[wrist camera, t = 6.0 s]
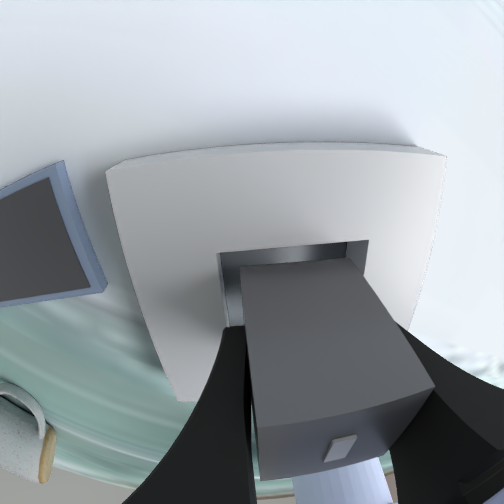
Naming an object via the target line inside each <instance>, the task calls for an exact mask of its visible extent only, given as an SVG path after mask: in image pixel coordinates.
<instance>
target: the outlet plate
mask: <svg viewBox="0 0 504 504" xmlns="http://www.w3.org/2000/svg"><path fill="white" fill-rule="evenodd" d="M446 158H447V156H444V155H441V154H439V153H436V152H433V151H430V150H427V149H424V148H421V147H416V146H405V145H393V144H377V143H353V142H288V143H264V144H247V145H234V146H222V147H212V148H202V149H193V150H185V151H177V152H170V153H163V154H157V155H150V156H144V157H138V158H132V159H127V160H124V161H122V162H120V163H119V164H117V165H115V166H113V167H112V168H110V169H108V170H107V171H105V173H106V179H107V184H108V189H109V194H110V199H111V204H112V208H113V213H114V217H115V221H116V225H117V229H118V233H119V237H120V241H121V245H122V249H123V253H124V256H125V260H126V263H127V267H128V270H129V274H130V277H131V280H132V283H133V287H134V290H135V293H136V296H137V299H138V302H139V305H140V308H141V311H142V314H143V317H144V320H145V322H146V325H147V328H148V331H149V333H150V336H151V339H152V341H153V344H154V347H155V349H156V352H157V354H158V357H159V359H160V362H161V364H162V366H163V369H164V371H165V374H166V376H167V378H168V381H169V383H170V385H171V387H172V390H173V392H174V394H175V396H176V398H177V401H178V402H197V401H198V400H199V398H200V396H201V394H202V391H203V389H204V387H205V385H206V383H207V380H208V378H209V375H210V373H211V370H212V367H213V365H214V362H215V359H216V356H217V353H218V350H219V346H220V343H221V338H222V333H223V329H224V328H225V327H230V325H229V318H228V311H227V304H226V296H225V289H224V281H223V273H222V265H221V257H220V253H222V252H233V251H245V250H256V249H267V248H279V247H290V246H302V245H313V244H325V243H336V242H347V250H346V258H349V257H350V259H351V260H352V261H353V263H354V264H355V265H356V267H357V268H358V269H359V271H360V272H361V273H362V275H363V276H364V278H365V279H366V280H367V282H368V283H369V285H370V286H371V287H372V289H373V290H374V292H375V293H376V295H377V296H378V297H379V299H380V300H381V302H382V303H383V305H384V306H385V308H386V309H387V310H388V312H389V313H390V315H391V316H392V318H393V319H394V321H396V322H397V323H398V324H399V325H401V326H402V327H403V328H404V329H405V330H407V331H408V329H409V326H410V323H411V320H412V317H413V314H414V311H415V308H416V305H417V302H418V299H419V295H420V292H421V289H422V285H423V282H424V278H425V274H426V271H427V267H428V263H429V259H430V255H431V251H432V246H433V242H434V237H435V232H436V227H437V222H438V217H439V211H440V205H441V199H442V192H443V185H444V177H445V168H446Z"/></svg>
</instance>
